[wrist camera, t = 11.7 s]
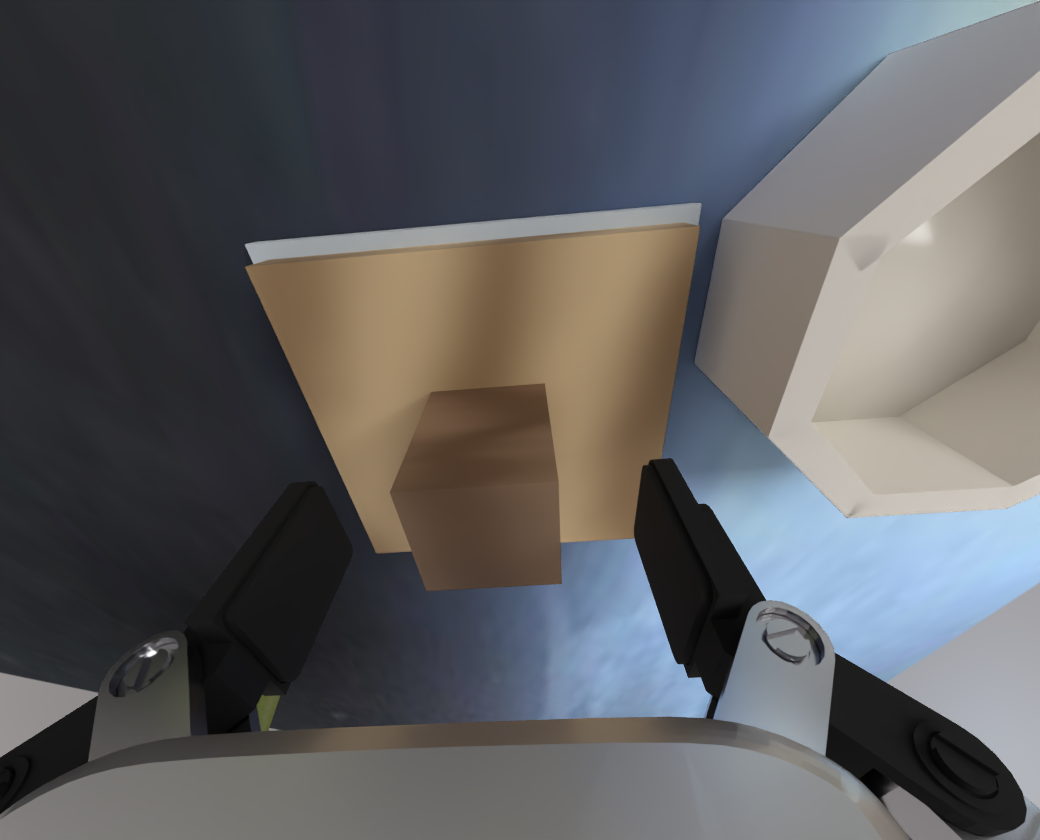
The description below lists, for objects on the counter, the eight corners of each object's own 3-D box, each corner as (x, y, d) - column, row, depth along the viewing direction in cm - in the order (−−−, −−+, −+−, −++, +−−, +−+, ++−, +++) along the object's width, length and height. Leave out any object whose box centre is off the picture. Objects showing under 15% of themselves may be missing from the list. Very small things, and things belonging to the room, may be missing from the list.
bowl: (1235, 18, 9) (1837, -122, 5) (961, 417, 16) (1122, 502, 12) (752, 67, 10) (933, -23, 5) (679, 436, 16) (736, 524, 12)
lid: (683, 222, 11) (832, 255, 6) (641, 517, 18) (691, 652, 13) (268, 259, 12) (66, 320, 6) (384, 533, 19) (332, 669, 13)
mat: (693, 202, 11) (701, 203, 11) (644, 515, 19) (648, 524, 18) (256, 241, 12) (244, 244, 11) (379, 531, 19) (376, 540, 19)
